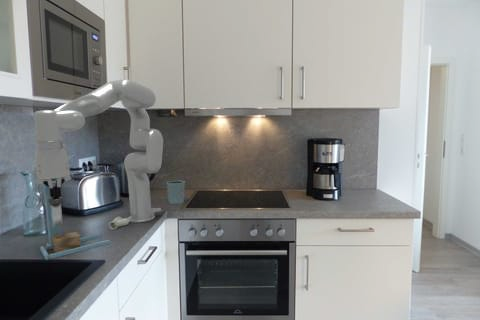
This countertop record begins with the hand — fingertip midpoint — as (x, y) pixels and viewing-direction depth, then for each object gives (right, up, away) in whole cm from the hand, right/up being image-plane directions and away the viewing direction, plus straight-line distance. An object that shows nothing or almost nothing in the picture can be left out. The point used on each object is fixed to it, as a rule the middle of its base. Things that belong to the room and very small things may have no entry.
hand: (55, 198), depth 112 cm
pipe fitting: (+12, -16, +28) cm, 35 cm away
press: (+3, -18, +7) cm, 20 cm away
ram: (0, -10, +1) cm, 10 cm away
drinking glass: (+29, -11, +69) cm, 76 cm away
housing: (+2, -19, +4) cm, 19 cm away
